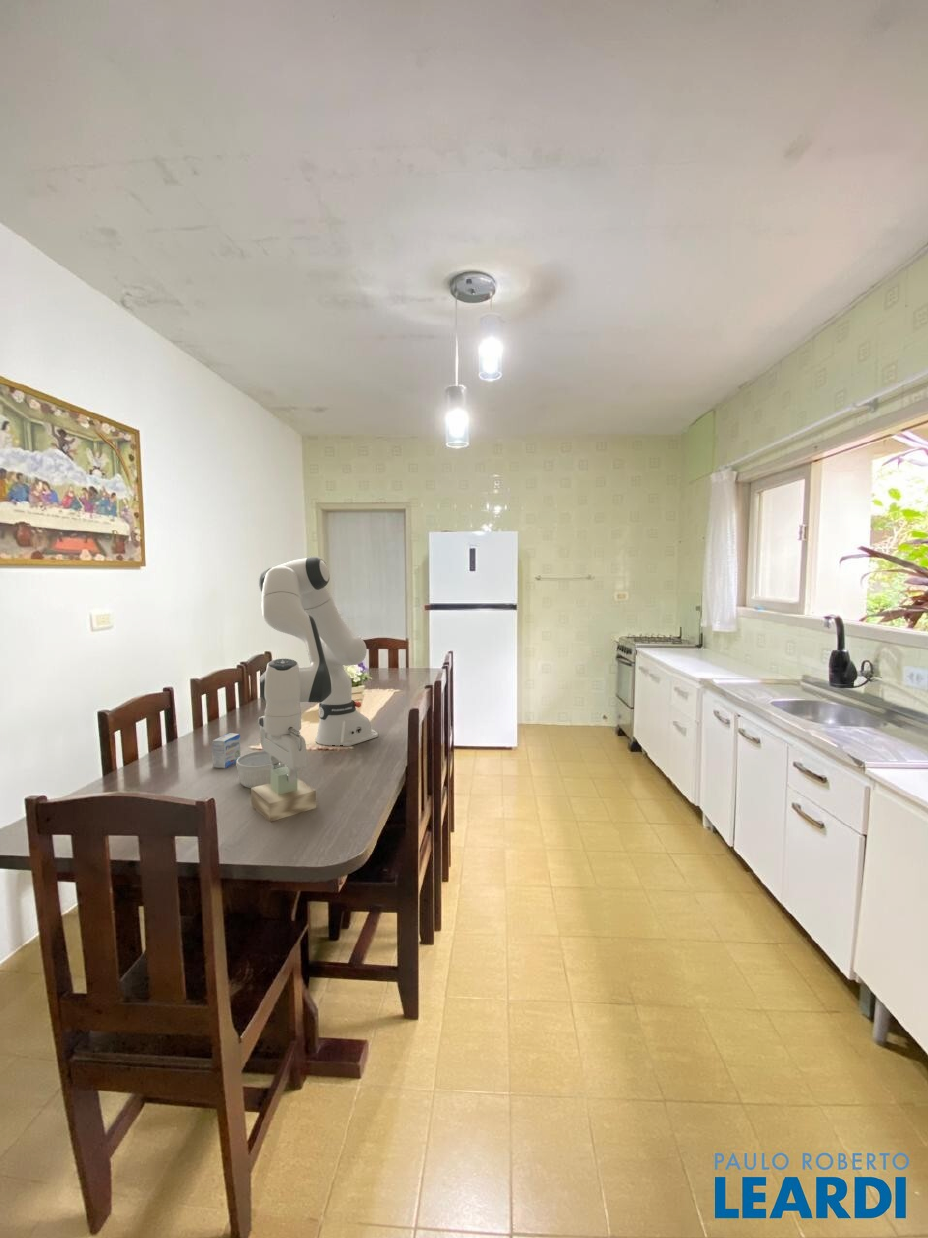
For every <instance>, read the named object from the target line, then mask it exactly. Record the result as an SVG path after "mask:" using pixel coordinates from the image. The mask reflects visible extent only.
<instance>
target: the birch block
mask: <svg viewBox="0 0 928 1238" xmlns="http://www.w3.org/2000/svg"><path fill="white" fill-rule="evenodd" d="M250 794H251V799H250V801H251V802H250V803H251V804H250V805H251V806H252V807H253V808H254V809H255V810H256V811H257V812H258V813H259V814H260V815H262V816H263V817H264V818H265V819H266V820H267V821H268V822H274V821H277V820H280V819H284V818H287V817H291V816H294V815H297V814H301V813H304V812H306V811H310V810H314V809H316V808H317V790H316V789H314V788H313V787H312V786H310V785H309V784H307V783H306V782H304V781H303V780H301V779H300V778H298V777H297V790H296V791H292V792H288V793H285V794H281V795H277V794H276V793H275V792H274V791H273V790H272V789H271V783H268V784H264V785H261V786H257V787H253V788H250Z"/></svg>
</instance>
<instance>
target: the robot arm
mask: <svg viewBox="0 0 928 1238" xmlns="http://www.w3.org/2000/svg"><path fill="white" fill-rule="evenodd" d="M329 582H330V571H329V567H328V566H327V564H326V562H325V561H324V560H323V559H322V558H321V557H319V556H308V557H307V558H300V559H294V560H290V561H288V562H285V563H282V564H279V565H276V566H273V567H268V568H266V569H265V570H263V571H262V572H261V574H260V575H259V577H258V586H259V590H260V592H261V614H262V618H263V619H264V621H265V622H266V624H267V625H268V626H269V627H271V628H272V629H274V631H275V630H276V631H277V632H280V633H283V634H287V635H291V636H293V637H296V638H298V639H299V640H301V641H303V643H304V644H305V647H306V652H307V654H308V658H309V659H308V660H309V664H310V665H308V666H299V664H298V662H297V661H296V660H295V659H291V658H276V659H272V660H270V661H269V662H268V663H267V664H266V670H265V671H264V672H263V674H261V675H260V677H259V690H260V693H259V697H260V699H261V700H263V701H264V702H265V704H266V705H265V709H264V715H263V716H259V717H258V719H257V721H258V723H257V724H258V726H260V727H259V735H260V737H259V738H260V744H261V745H260V746H261V748H262V751H263V750H264V751H265V752H267V753H268V754H269V758H270V761H271V768H272V769H277V768H280V763H279V761H280V762H282V763H283V764H284V766H288V770H289V773H288V775H287V781H288V782H290V783H292V782H295V781H296V774H297V775H298V771H299V770H300V769H303V768H306V767H307V764H308V755H307V753H308V752H307V744H306V740H305V738H304V736H303V735H301V732H300V731H301V729H302V708H301V705H300V703H317V704H318V717H319V718H318V719H319V722H318V727H317V728H318V729H317V734H316V737H315V742H316V743H318V744H319V745H322V746H323V745H324V746H332V745H335V746H340V745H343V746H342V747H351V746H354V745H356V744H360V743H363V742H366V741H368V740H369V741H370V740H372V739H375V738H377V737H378V735H379V734H378V732H377V731H376V730H374V729H372V723H371V721H370V719H369V718H368V717H367V716H365V715H364V714H362V713H361V712H360V711H358V710H357V708H361V707H362V703H361V702H360V701H358V700H357V701H354V700H353V699H352V697H353V696H352V695H353V694H352V693H353V691H352V690H353V689H352V687H353V685H352V683H353V682H352V678H351V676H350V675H349V674H348V673H347V672H346V669H345V668H344V667H350V666H357V665H360V664H361V663H362V662H364V660H365V658H366V655H367V650H368V649H367V645H366V643H365V640H363V639H361V638H360V637H359V636H358V635H356V633H354V632H353V630H352V629H351V628H350V627H349V625H348V624H347V623H346V622H345V620H344V619H343V618H342V616H341V614H340V613H339V610H338V608H337V607H336V604H335V602H334V600H333V597H332V595H331V593H330V591H329V588H328V586H327V585H328V583H329Z"/></svg>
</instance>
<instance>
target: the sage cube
mask: <svg viewBox="0 0 928 1238" xmlns="http://www.w3.org/2000/svg"><path fill="white" fill-rule="evenodd" d="M288 773H289V770H288V766H286V765H284V767H281V768H277V769H272V770H270V775H271V789H272V790H273V791H274V792H275V793H276V794H277V795H281V794H285V793H288V792H292V791H296V790H297V778H298V773H297V774H296V781H295V782H292V783H290V782H288V781H287V775H288Z"/></svg>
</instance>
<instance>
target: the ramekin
mask: <svg viewBox="0 0 928 1238" xmlns="http://www.w3.org/2000/svg"><path fill="white" fill-rule="evenodd" d="M279 763H280V768H281V767H285V764H283V763H282V762H280V761H279ZM235 766H236V768H237V774H238V775H237V776H238V781H239V783H240V784H241V785H242V786H243V787H245V788H248V789H251V788H253V787H257V786H261V785H264V784H268V783H271V775H270V770H272V768H271V761H270V758H269V754H268V753H267V752H265V751H264V750H263V749H262V750H255V751H252V752H248V753H245V754H243V755H240V757H239V758H238V759H237V760H236V763H235Z"/></svg>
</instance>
